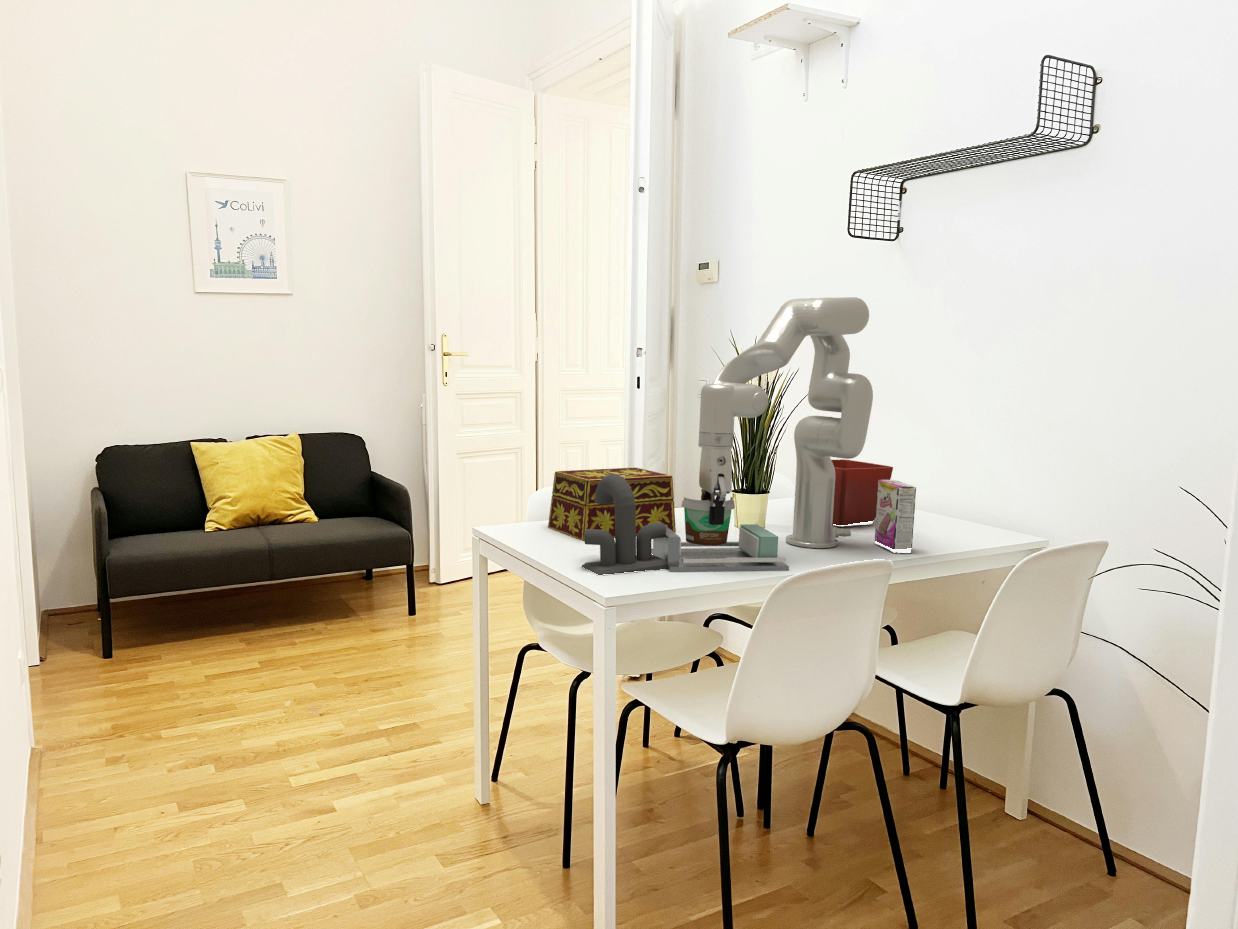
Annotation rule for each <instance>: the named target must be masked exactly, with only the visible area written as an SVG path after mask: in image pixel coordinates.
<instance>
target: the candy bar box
mask: <svg viewBox="0 0 1238 929" xmlns="http://www.w3.org/2000/svg"><path fill="white" fill-rule="evenodd" d="M916 493H917V487H916V486H914V485H911V484H907V483H905V482H902V481H899V480H896V479H890V480H878V492H877V511H876V518H875V527H874V528H875V529H874V541H877V542H879V543H881V544H883V545H885V546H888V547H890V548H892V549H907V548H912V549H913V538H914V524H915V523H914V522H915V512H916V511H915V510H916V495H917V494H916Z"/></svg>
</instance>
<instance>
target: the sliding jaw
mask: <svg viewBox="0 0 1238 929" xmlns="http://www.w3.org/2000/svg"><path fill="white" fill-rule="evenodd" d="M738 532H739V534H738V542H739V546H738V548H739V549H740V550H742V551H743V552H745V553H746V554H748V555H749V556H751V557H778V555H779V554H778V553H779V552H778V549H779V536H778V535H776V534H775V533H773V532H771V531H769V530H767V529H766V528H764V527H762V526H761V525H759V524H756V523H755V524H754V523H753V524H752V523H751V524H749V523H748V524H747V523H746V524H743V523H741V524H740V525H739V529H738ZM759 563H770V562H759Z"/></svg>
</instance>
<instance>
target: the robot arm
mask: <svg viewBox="0 0 1238 929" xmlns="http://www.w3.org/2000/svg"><path fill="white" fill-rule="evenodd" d="M869 309H870V308H869V307H868V305H867V303H866V302H865V301H864V300H863V299H861V298H859V297H856V296H855V297H854V296H853V297H819V298H818V297H817V298H816V297H815V298H813V297H811V298H794V299H790V300H787V301H785V302H784V303H783V304H782V305H781V306H780V308H779V309H778V311H777V313H776V314H775V315H774V317H773V318H772V319H771V321H770V324H769V325H768V326H767V327H766V329H765V330H764V332H763V333H762V334H761V336H760V338H759V339H758V340H757V342H756V343H754V344H753V345H752V346H750V347H749V348H747V349H745V350H744V351H742V352H741V353H740V354H738V355H736V356H735V357H734V358H732V359H731V360H730V361H729V362H727V363H726V364H725V365H724V366H723V367H722V369H720V372H718V374H717V376H716V377H715V379H714V380H713V381H712V383H707V384H704V385H703V386H702V387H701V389H700V405H699V406H700V407H699V428H698V444H697V445H698V446H697V447H699V448H701V452H700V460H699V472H698V473H699V474H698V476H699V477H698V484H699V487H700V488H701V490H700V492H701V493H700V494H701V496H700V500H706V499H711V505H712V506H710V512H709V524H710V525H723V524H724V509H725V501H726V497H727V494H728V495H729V494H731V492H732V488H733V487H732V485H733V484H732V482H733V479H732V478H733V477H732V475H733V473H732V471H733V467H732V465H733V464H732V460H733V459H732V450H731V449H733V448H734V429H735V417H737V418H746V419H754V418H757V417H759V416H761V415H762V414H763V413H764V412H765V411H766V410H767V408H768V405H769V397H768V396H769V395H768V394H767V392H766V391H765V389H763V387H761V386H759V385H757V384H751V383H748V382H750V381H752V380H754V379H755V378H758V377H759V376H762V375H766V374H768V373H772V372H775V371H777V370H779V369H781V368H783V367H785V366H787V365H788V364H789V363H790V361H791V359H793V356H794V355H795V353H796V351H797V350H798V348H800V345H801V344H802V342H804V341H803V340H804V339H805V338H806V337H808V336H810V339H811V341H812V344H813V348H814V356H813V363H812V364H813V365H812V368H811V375H810V378H809V379H810V381H809V385H808V391H807V392H808V393H807V400H808V404H809V405H810V407H811V408H812V409H815V410H818V411H823V412H832V413H841V415H840V417H832V416H825V415H810V416H809V415H808V416H805V417H803V418H801V419H800V420H799V421H798V422H797V424H796V426H795V427H794V432H793V439H794V448H795V457H796V470H795V472H796V474H795V488H794V489H795V490H794V505H793V506H794V507H793V522H792V534H788V535H787V536H786V537H785V542H786V543H788V544H790V545H793V546H796V547H803V548H809V549H810V548H811V549H830V548H835V547H837V546H838V545H839V542H838V538H839V537H844V538H845V537H846V538H847V537H849V538H850V537H851V535H852V531H851V529H850V528H842V527H837V526H833V509H834V494H835V479H836V474H835V468H834V465H833V463H832V460H833V459H831V458H837V459H844V460H851V459H854V458H856V457H858V456H859V455H860V454H861V452H863V449H864V447H865V444H866V441H867V440H866V439H867V434H868V429H869V424H870V419H871V418H870V417H871V412H872V406H873V400H874V392H873V386H872V384H871V381H870V380H869V379H868V377H867V376H865V375H862V374H860V373H854V372H853V373H849V366H850V360H851V359H850V358H851V352H850V348H849V345H848V342H847V341H846V339H845V337H844V335H847V336H848V335H855V334H858V333H860V332H862V331H863V330H864V329H865V328H866V327H867V325H868V322H869V319H870V310H869Z"/></svg>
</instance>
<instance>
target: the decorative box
mask: <svg viewBox="0 0 1238 929" xmlns="http://www.w3.org/2000/svg"><path fill="white" fill-rule="evenodd" d="M609 474H617V475H620V476H621V477H623V478H624V479H625V480H626V481H627V482H628V484H629V485H630V487H631V489H632V492H633V495H634V499H635V508H636V537H637V534H638V532H639V530H640V529H641V528H642V527H643V526H645V525H648V524H654V523H661V522H662V523H664V525H666V526H667V527H668V528H669V529H671V530H672V531H673V532H674V533H677V532H676V517H675V516H676V515H675V500H674V497H675V496H674V494H675V493H674V482H673V481H674V479H673V476H672V475H670V474H667V473H666V474H665V473H662V472H656V471H652V470H648V469H643V468H639V467H619V468H599V469H597V468H595V469H594V468H593V469H577V470H559V471H555V472H554V474H553V476H554V477H553V482H552V492H551V493H552V494H551V495H552V496H551V500H550V507H549V516H548V523H547V528H548V529H550V530H553V531H556V532H559V533H560V534H562V535H565V534H566V535H565V536H568V537H571V538H574V539H577V540H579V541H581V540H582V541H581V542H584V534H585V530H586V529H600V530H605V531H607V532H609V533H610V534H611V535H612V536H613V538H615V505H614V502H613V503H611V504H597V503H596V502H595V493H596V488H597V486H598V484H599V482H600V481H601V480H602V478H603V477H605V476H607V475H609Z"/></svg>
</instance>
